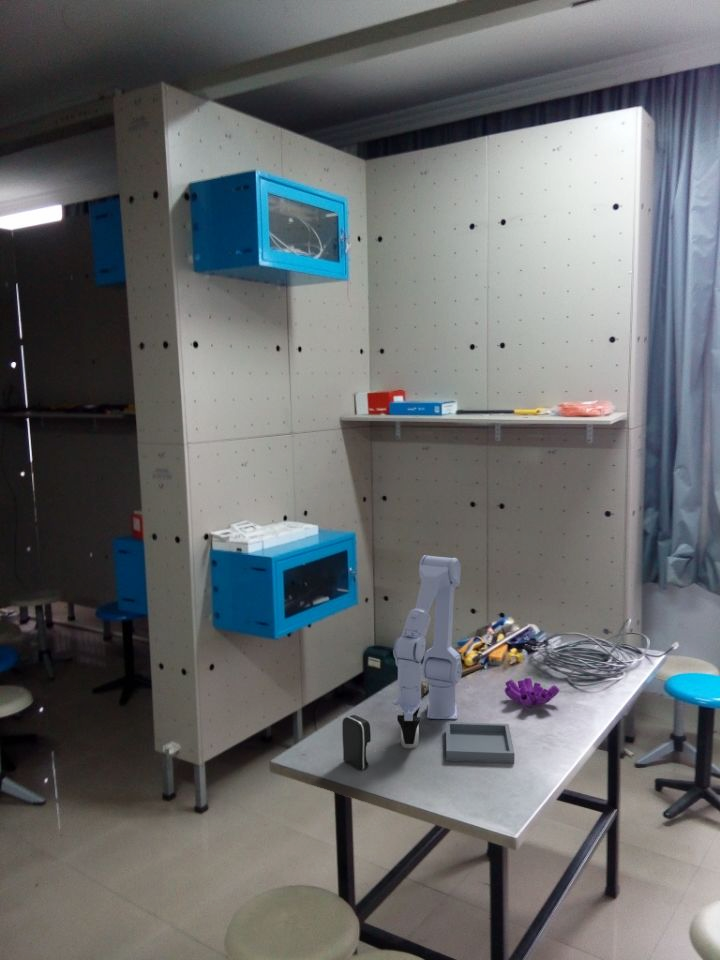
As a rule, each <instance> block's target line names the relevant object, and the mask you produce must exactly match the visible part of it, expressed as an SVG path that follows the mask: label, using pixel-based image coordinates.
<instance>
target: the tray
mask: <svg viewBox="0 0 720 960" xmlns="http://www.w3.org/2000/svg"><path fill="white" fill-rule="evenodd" d="M511 735H512V734H511V729H510V725H509V723H489V722H488V723H486V722H485V723H483V722H454V721H449V722H447V721H446V722H445V745H446V747H445V748H446V749H445V752H446V755H445V757H446V758H445V760H446V762H465V763H466V762H467V763H469V762H470V763H471V762H472V763H491V764H492V763H494V764H515V749H514V744H513V739H512V736H511Z"/></svg>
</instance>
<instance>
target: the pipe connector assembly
mask: <svg viewBox="0 0 720 960" xmlns="http://www.w3.org/2000/svg"><path fill="white" fill-rule="evenodd" d="M504 684H505V686H506V687H505V688H504V693H505V695H506V697H508V698H509V699H510V700H512V701H513V702H516V703H519V704H522V705H523V706H524V707H528V708H529V707H533V706H542V705H544V704H547V703H549V702H550V701H552V699H553V698H555V697H556V696H557V695H558V694H559V692H560V688H559V687H558V686H556V685H555V684H553V685H552V686H551V687H549V688H548V689H546V688H544V687H543V686H541V683H539V682H534V684H533V680H532V677H525V678H524V679H522V680H518V681H517V684H516V682H515V681H514V679H512V678H510V679H509V680H507V681H506V682H504Z"/></svg>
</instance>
